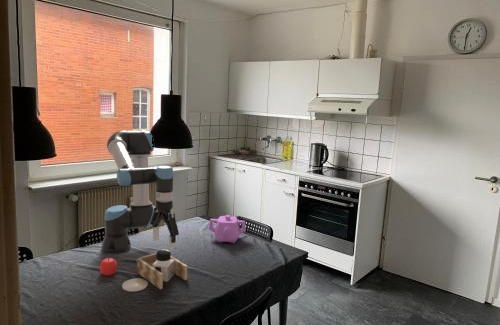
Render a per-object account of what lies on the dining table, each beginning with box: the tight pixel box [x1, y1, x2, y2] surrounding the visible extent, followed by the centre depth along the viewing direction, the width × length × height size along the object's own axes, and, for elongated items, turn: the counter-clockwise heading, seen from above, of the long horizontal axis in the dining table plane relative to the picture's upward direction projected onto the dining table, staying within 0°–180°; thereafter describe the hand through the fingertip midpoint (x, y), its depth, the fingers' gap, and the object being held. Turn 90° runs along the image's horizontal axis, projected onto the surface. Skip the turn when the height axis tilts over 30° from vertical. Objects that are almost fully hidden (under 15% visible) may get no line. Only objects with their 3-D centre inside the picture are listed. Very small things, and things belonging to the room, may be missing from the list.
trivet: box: [121, 277, 149, 293], centre depth 170 cm, size 11×11×1 cm
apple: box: [99, 257, 118, 277], centre depth 179 cm, size 8×8×8 cm
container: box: [152, 248, 175, 282], centre depth 178 cm, size 8×8×13 cm
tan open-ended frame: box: [136, 252, 188, 290], centre depth 180 cm, size 21×14×7 cm
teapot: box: [208, 214, 246, 244], centre depth 228 cm, size 19×18×15 cm
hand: (163, 244), depth 176 cm, fingers open, 13 cm apart
